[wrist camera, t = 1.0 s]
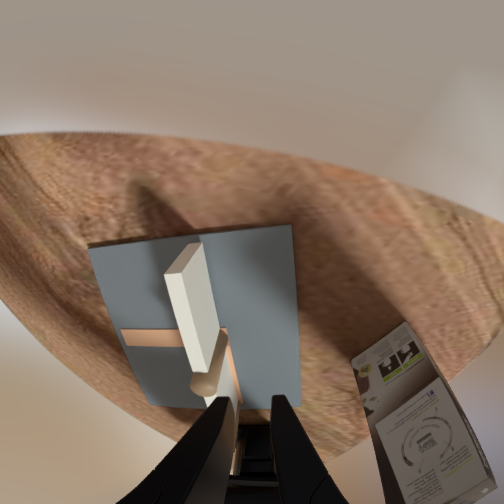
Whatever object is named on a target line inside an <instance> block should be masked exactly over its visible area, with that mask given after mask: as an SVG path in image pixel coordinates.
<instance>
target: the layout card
mask: <svg viewBox="0 0 504 504" xmlns="http://www.w3.org/2000/svg"><path fill="white" fill-rule="evenodd" d="M200 242H202V243H203V248H204V253H205V259H206V264H207V269H208V274H209V279H210V284H211V289H212V294H213V298H214V303H215V308H216V313H217V317H218V322H219V326H220V330H223V331H224V332H225V333H226V334H227V336H228V342H227V347H226V352H227V357H228V361H229V365H230V369H231V374H232V378H233V382H234V386H235V390H236V394H237V398H238V400H239V401H240V402H241V407H240V410H243V409H271V397H272V395H279V394H284V395H285V396H286V397H287V399H288V401H289V403H290V405H291V406H292V407H301V371H300V346H299V326H298V308H297V292H296V277H295V264H294V251H293V239H292V227H291V224H287V225H276V226H266V227H256V228H247V229H237V230H228V231H219V232H210V233H201V234H192V235H184V236H175V237H167V238H159V239H151V240H143V241H135V242H128V243H120V244H112V245H105V246H98V247H91V248H89V249H88V252H89V256H90V259H91V263H92V266H93V269H94V272H95V276H96V279H97V282H98V285H99V288H100V291H101V294H102V297H103V299H104V302H105V305H106V308H107V310H108V313H109V316H110V318H111V321H112V323H113V326H114V329H115V331H116V333H117V336H118V338H119V341H120V343H121V345H122V348H123V350H124V352H125V355H126V357H127V359H128V361H129V363H130V366H131V368H132V370H133V372H134V374H135V376H136V378H137V380H138V382H139V384H140V386H141V388H142V390H143V392H144V394H145V396H146V398H147V400H148V402H149V404H150V405H155V406H165V407H177V408H193V409H207V408H208V407H207V405H206V402H205V399H204V397H202V396H199V395H197V394H195V393H194V392H193V391H192V390H191V389H190V382H191V379H192V376H193V373H194V372H193V371H192V368H191V365H190V362H189V359H188V356H187V353H186V350H185V347H184V343H183V340H182V337H181V334H180V331H179V327H178V324H177V320H176V317H175V314H174V310H173V307H172V303H171V299H170V296H169V292H168V288H167V285H166V281H165V277H164V274H165V272H166V271H167V270H168V269H169V267H170V266H171V265H172V264H173V262H174V261H175V260H176V259H177V257H178V256H179V255H180V254H181V252H182V251H183V250H184V249H185V247H186V246H187V245H188V244H191V243H200Z"/></svg>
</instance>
